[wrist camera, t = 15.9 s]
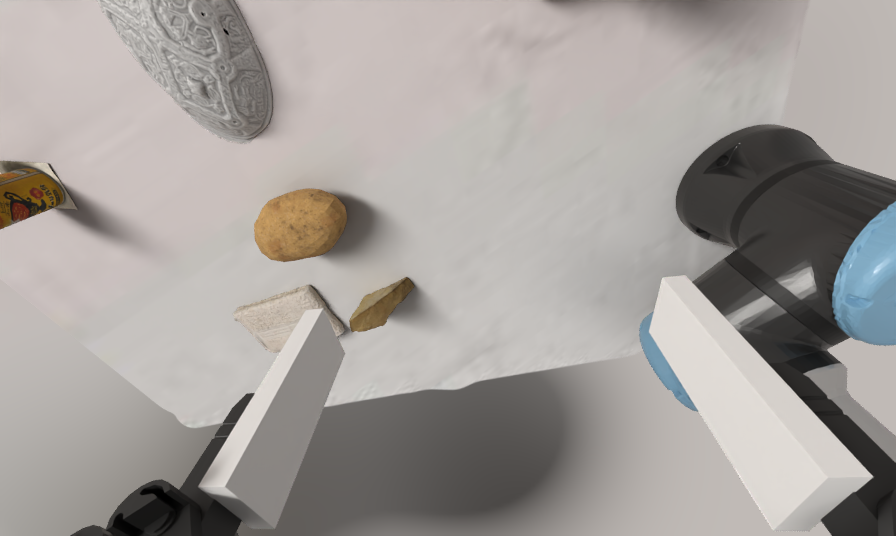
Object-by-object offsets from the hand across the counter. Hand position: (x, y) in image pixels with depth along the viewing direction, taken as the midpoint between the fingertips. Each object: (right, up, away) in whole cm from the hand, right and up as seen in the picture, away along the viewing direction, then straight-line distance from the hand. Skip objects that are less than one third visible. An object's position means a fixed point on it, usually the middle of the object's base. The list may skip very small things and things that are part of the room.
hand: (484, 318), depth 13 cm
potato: (-22, +11, +36) cm, 44 cm away
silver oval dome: (-31, +29, +25) cm, 50 cm away
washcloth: (-31, -7, +50) cm, 60 cm away
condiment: (-64, +15, +36) cm, 75 cm away
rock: (-12, -3, +45) cm, 47 cm away
